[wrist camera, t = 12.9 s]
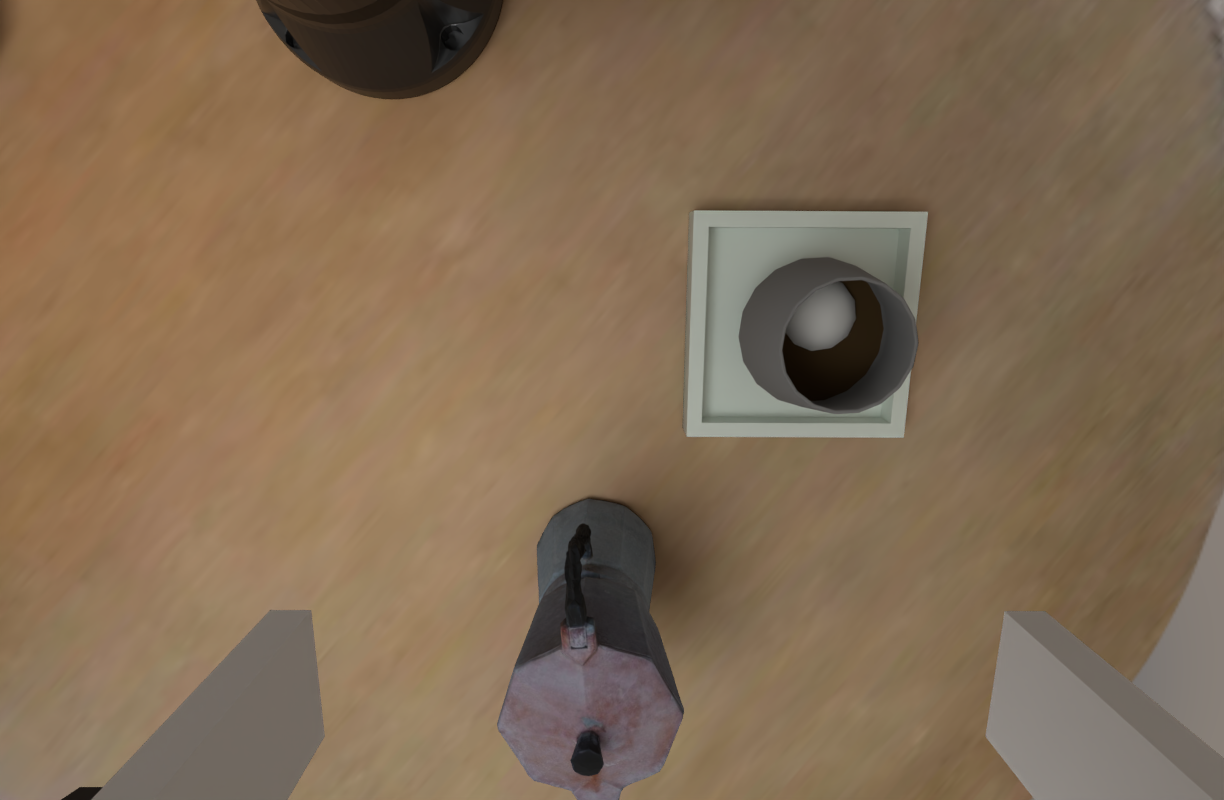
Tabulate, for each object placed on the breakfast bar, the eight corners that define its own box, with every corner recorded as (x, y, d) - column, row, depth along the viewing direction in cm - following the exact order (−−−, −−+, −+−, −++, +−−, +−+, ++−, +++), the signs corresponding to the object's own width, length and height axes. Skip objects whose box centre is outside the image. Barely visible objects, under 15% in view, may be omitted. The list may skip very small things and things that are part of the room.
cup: (740, 248, 44) (778, 246, 34) (876, 265, 44) (953, 268, 34) (719, 385, 46) (749, 421, 36) (849, 400, 46) (914, 440, 36)
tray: (689, 212, 44) (693, 210, 42) (910, 214, 44) (928, 211, 42) (682, 427, 47) (686, 436, 45) (888, 428, 47) (903, 437, 45)
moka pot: (550, 647, 51) (514, 889, 32) (510, 462, 48) (443, 606, 28) (670, 628, 51) (709, 861, 31) (639, 441, 48) (660, 572, 28)
